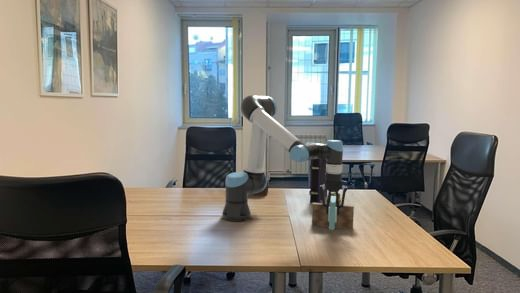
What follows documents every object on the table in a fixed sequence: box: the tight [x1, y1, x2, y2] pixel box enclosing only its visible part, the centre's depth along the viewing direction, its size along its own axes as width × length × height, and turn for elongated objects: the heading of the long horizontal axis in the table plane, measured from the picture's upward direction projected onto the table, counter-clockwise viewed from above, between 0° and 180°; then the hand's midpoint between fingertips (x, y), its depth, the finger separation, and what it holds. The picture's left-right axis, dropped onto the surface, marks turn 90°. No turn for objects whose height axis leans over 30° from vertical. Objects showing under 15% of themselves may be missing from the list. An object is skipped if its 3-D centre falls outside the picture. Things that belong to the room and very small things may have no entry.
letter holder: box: [250, 175, 269, 196], centre depth 258 cm, size 10×20×14 cm, turn 84°
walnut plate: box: [311, 202, 355, 229], centre depth 190 cm, size 20×2×11 cm, turn 78°
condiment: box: [329, 192, 342, 207], centre depth 209 cm, size 7×8×12 cm
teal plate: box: [328, 196, 336, 230], centre depth 183 cm, size 20×2×11 cm, turn 168°
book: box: [308, 159, 328, 203], centre depth 244 cm, size 24×6×30 cm, turn 157°
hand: (332, 220), depth 184 cm, fingers closed on teal plate, 2 cm apart
